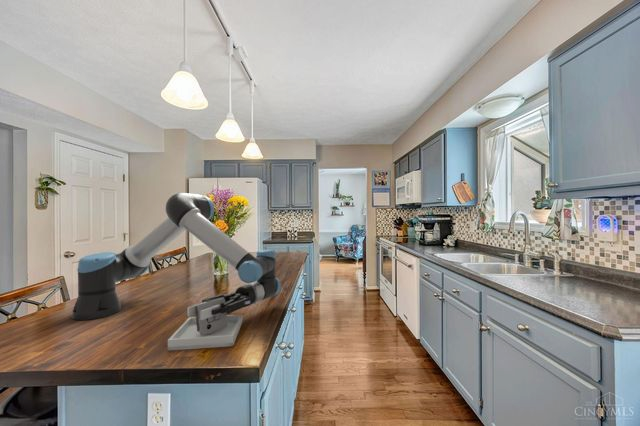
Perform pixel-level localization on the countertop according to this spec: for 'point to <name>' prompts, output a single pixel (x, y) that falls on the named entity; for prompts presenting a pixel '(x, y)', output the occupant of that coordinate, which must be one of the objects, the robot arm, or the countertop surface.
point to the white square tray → (193, 340)
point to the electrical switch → (210, 318)
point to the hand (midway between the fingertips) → (194, 313)
